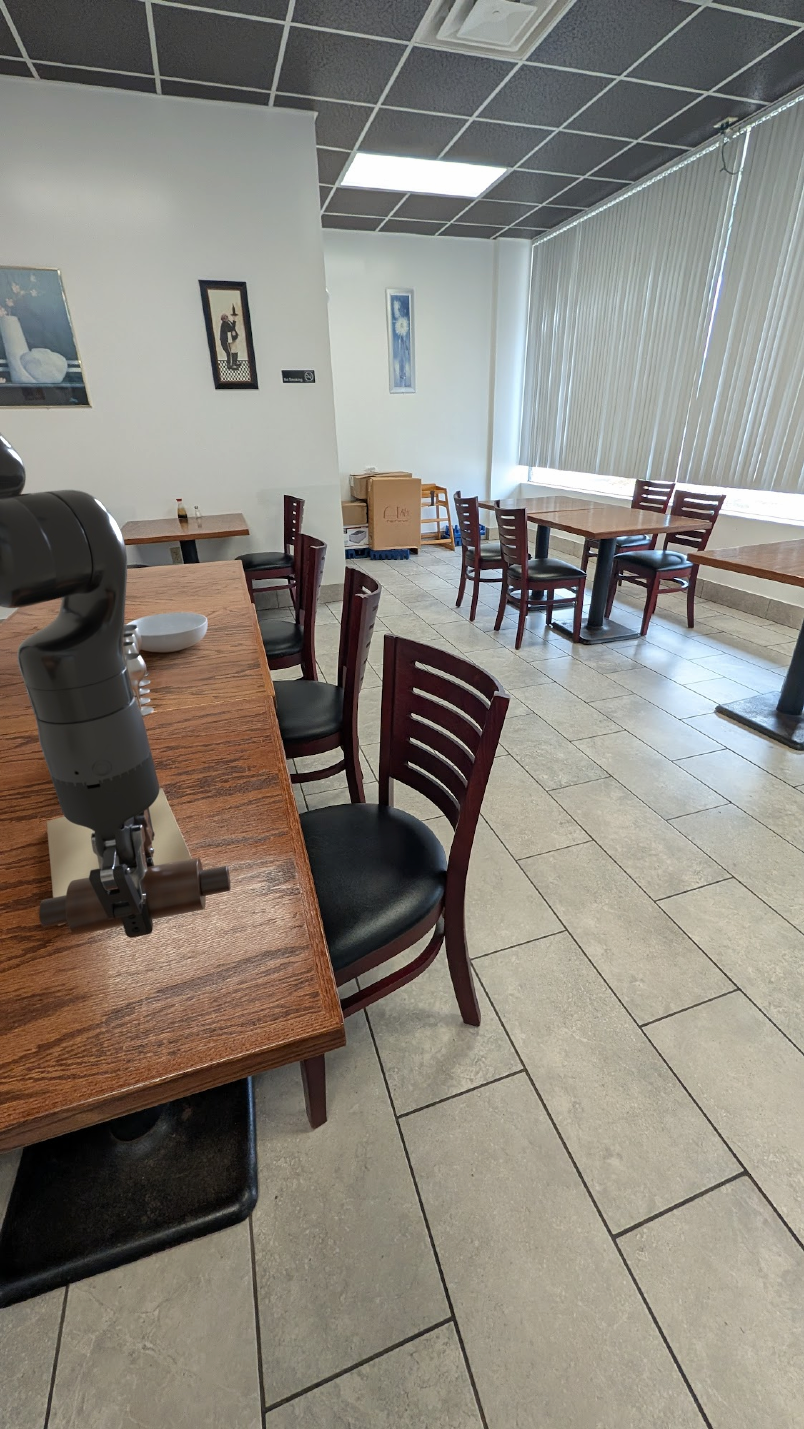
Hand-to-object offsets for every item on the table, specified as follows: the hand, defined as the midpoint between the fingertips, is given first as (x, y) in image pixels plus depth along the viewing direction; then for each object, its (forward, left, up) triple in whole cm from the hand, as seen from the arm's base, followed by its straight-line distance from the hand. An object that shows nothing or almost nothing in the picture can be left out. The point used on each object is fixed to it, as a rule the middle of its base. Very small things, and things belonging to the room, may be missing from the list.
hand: (144, 911), depth 55 cm
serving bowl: (-28, +112, -11) cm, 116 cm away
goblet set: (-27, +81, -11) cm, 86 cm away
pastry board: (-13, +24, -11) cm, 29 cm away
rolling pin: (0, 0, 0) cm, 0 cm away
